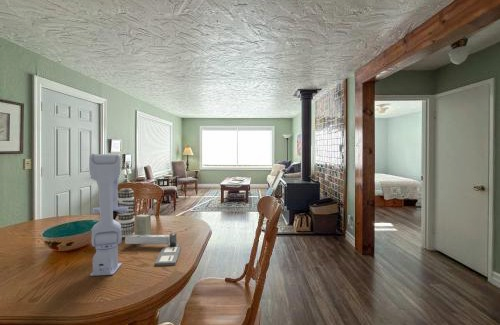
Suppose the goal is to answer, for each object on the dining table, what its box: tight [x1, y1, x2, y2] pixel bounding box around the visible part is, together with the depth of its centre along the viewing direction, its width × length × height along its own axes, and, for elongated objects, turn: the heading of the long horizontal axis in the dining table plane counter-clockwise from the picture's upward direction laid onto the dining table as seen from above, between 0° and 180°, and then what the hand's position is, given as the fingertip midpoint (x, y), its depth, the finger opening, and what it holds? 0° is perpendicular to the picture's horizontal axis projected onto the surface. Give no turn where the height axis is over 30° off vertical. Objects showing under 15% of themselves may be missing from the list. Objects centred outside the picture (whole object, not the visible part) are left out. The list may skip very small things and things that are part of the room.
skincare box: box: [135, 214, 152, 235], centre depth 137 cm, size 6×4×12 cm
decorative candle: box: [117, 187, 136, 238], centre depth 143 cm, size 9×9×25 cm
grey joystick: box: [166, 233, 180, 247], centre depth 125 cm, size 5×5×6 cm
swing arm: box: [124, 234, 170, 245], centre depth 125 cm, size 20×3×3 cm, turn 90°
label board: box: [153, 246, 182, 267], centre depth 114 cm, size 18×8×1 cm, turn 8°
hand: (110, 227), depth 120 cm, fingers closed
